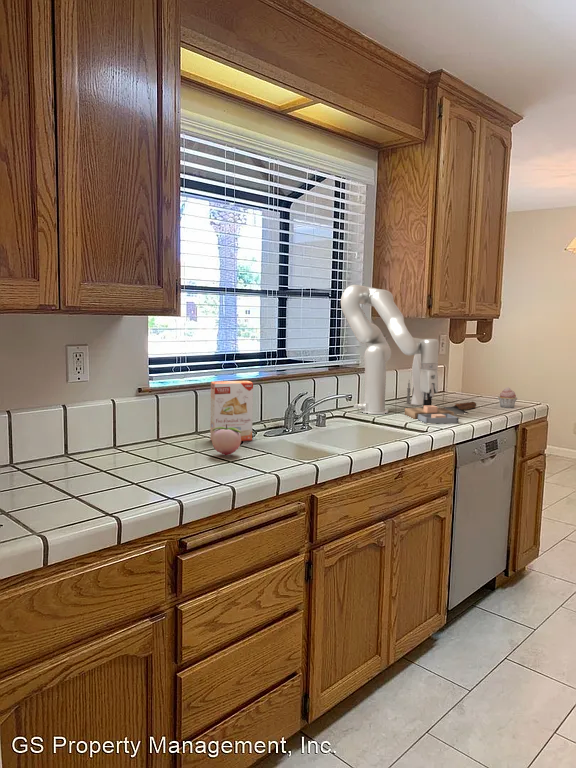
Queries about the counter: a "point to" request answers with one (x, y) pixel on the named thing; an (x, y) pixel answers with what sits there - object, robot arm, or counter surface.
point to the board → (415, 411)
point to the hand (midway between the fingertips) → (427, 408)
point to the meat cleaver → (461, 407)
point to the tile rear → (430, 408)
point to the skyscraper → (415, 383)
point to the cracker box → (232, 407)
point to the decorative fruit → (226, 440)
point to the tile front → (438, 416)
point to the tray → (437, 419)
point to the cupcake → (507, 398)
